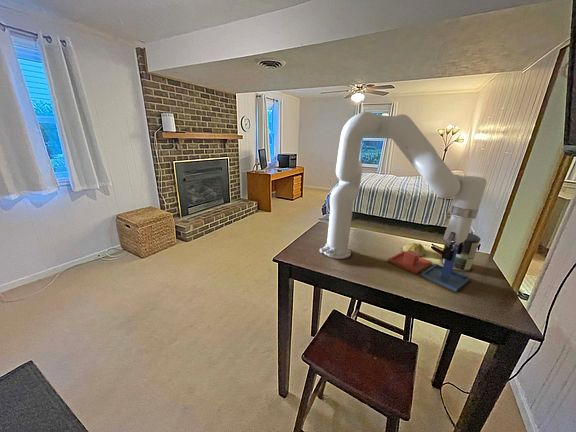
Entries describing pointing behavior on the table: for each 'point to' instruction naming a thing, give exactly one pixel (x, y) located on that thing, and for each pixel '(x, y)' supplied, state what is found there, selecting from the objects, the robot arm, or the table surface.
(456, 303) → the table surface
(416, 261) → the block
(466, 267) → the coffee can
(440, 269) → the slate tray
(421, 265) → the terracotta tray
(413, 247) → the fossil
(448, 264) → the walkman
